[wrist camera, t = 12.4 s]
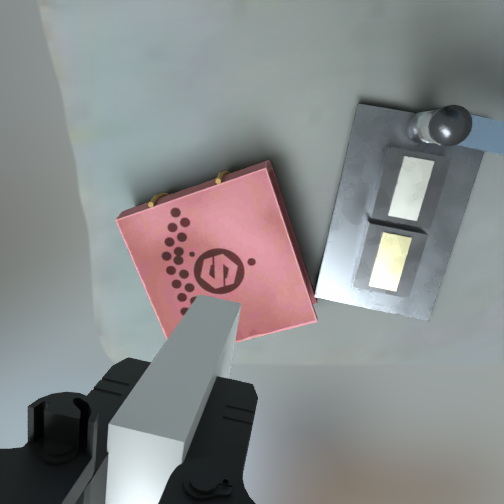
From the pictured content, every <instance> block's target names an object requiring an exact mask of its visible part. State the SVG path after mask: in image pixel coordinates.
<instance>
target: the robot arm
mask: <svg viewBox="0 0 504 504" xmlns="http://www.w3.org/2000/svg"><path fill="white" fill-rule="evenodd" d="M241 304H242V303H238V302H233V301H228V300H224V299H219V298H214V297H209V296H204V295H200V294H199V295H198V296H197V298H196V299H195V301H194V302H193V303H192V305H191V306H190V308H189V309H188V311H187V312H186V313H185V315H184V316H183V318H182V319H181V321H180V322H179V324H178V325H177V326H176V328H175V329H174V331H173V332H172V334H171V335H170V336H169V338H168V339H167V341H166V342H165V344H164V345H163V346H162V348H161V349H160V351H159V352H158V354H157V355H156V357H155V358H154V359H153V361H152V362H146V361H142V360H137V359H133V358H126V359H124V360H122V361H121V362H119V363H117V364H115V365H113V366H112V367H111V368H110V369H109V370H108V372H107V373H106V374H105V375H104V376H103V377H102V380H100V381H99V382H98V383H97V385H96V386H95V387H94V389H93V390H91V392H90V393H89V394H88V395H87V396H86V395H83V394H81V393H73V392H62V393H55V394H51V395H48V396H45V397H42V398H40V399H38V400H36V401H35V402H34V403H32V404H31V405H29V406H28V442H27V443H26V444H25V446H24V447H21V448H12V449H0V504H255V503H254V501H253V500H252V499H251V498H250V497H249V495H248V493H247V491H246V489H245V487H244V484H243V470H244V466H245V461H246V456H247V451H248V446H249V441H250V436H251V431H252V425H253V420H254V415H255V410H256V405H257V400H258V397H257V394H256V391H255V389H254V386H253V384H250V383H245V382H241V381H237V380H232V379H228V377H229V374H230V369H231V364H232V358H233V352H234V346H235V340H236V334H237V328H238V322H239V316H240V310H241Z"/></svg>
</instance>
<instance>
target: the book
mask: <svg viewBox="0 0 504 504" xmlns="http://www.w3.org/2000/svg"><path fill="white" fill-rule="evenodd" d="M116 223H117V225H118V227H119V230H120V232H121V234H122V237H123V239H124V241H125V244H126V246H127V248H128V250H129V253H130V255H131V257H132V260H133V262H134V264H135V267H136V269H137V271H138V274H139V276H140V278H141V281H142V283H143V285H144V288H145V290H146V292H147V295H148V297H149V299H150V302H151V304H152V306H153V309H154V311H155V313H156V316H157V318H158V320H159V323H160V325H161V327H162V330H163V332H164V334H165V336H166V339H168V338H169V336H170V335H171V334H172V332H173V331H174V329H175V328H176V326H177V325H178V324H179V322H180V321H181V319H182V318H183V316H184V315H185V313H186V312H187V311H188V309H189V308H190V306H191V305H192V303H193V302H194V301H195V299H196V298H197V296H198V295H199V294H200V295H204V296H209V297H214V298H219V299H224V300H228V301H233V302H238V303H242V304H241V310H240V316H239V322H238V328H237V334H236V340H235V343H236V342H240V341H244V340H248V339H252V338H256V337H259V336H263V335H267V334H271V333H275V332H279V331H283V330H287V329H291V328H295V327H299V326H303V325H307V324H311V323H315V322H318V320H317V315H316V312H315V309H314V306H313V304H315V303H317V300H316V297H314V291H313V288H312V285H311V282H310V279H309V276H308V273H307V270H306V267H305V264H304V261H303V258H302V255H301V252H300V249H299V246H298V243H297V239H296V236H295V233H294V230H293V227H292V224H291V221H290V218H289V215H288V212H287V209H286V206H285V203H284V200H283V197H282V194H281V191H280V188H279V185H278V182H277V179H276V176H275V173H274V170H273V167H272V164H271V162H270V161H269V160H267V161H264V162H261V163H258V164H255V165H253V166H250V167H247V168H244V169H241V170H238V171H236V172H233V173H229V172H228V171H226V170H224V171H221V172H219V173H218V175H217V178H216V179H213V180H210V181H207V182H204V183H201V184H199V185H196V186H193V187H190V188H187V189H184V190H181V191H179V192H176V193H173V194H168V193H164V192H162V193H159V194H156V195H154V196H153V198H152V199H151V200H150V202H147V203H144V204H142V205H139V206H136V207H133V208H130V209H128V210H125V211H123V212H121V214H120V215H119V216H118V217H117V219H116Z"/></svg>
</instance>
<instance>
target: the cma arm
mask: <svg viewBox="0 0 504 504" xmlns="http://www.w3.org/2000/svg"><path fill="white" fill-rule="evenodd" d="M428 131H429V135H430V137H431V139H432V140H433V141H434V142H435V143H437V144H439V145H442V146H454V145H459V146H463V147H468V148H472V149H477V150H481V151H486V152H490V153H495V154H499V155H503V156H504V122H503V121H498V120H494V119H489V118H485V117H480V116H476V115H471V114H470V113H469V112H468V110H466V109H465V108H464V107H462V106H458V105H450V106H445V107H443V108H441V109H439V110H437V111H436V112H435V113H434V114H433V116H432V117H431V119H430V121H429V125H428Z"/></svg>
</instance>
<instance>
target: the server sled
mask: <svg viewBox="0 0 504 504" xmlns="http://www.w3.org/2000/svg"><path fill="white" fill-rule="evenodd" d="M437 110H439V109H437ZM437 110H431V111H425V112H420V113H412V112H406V111H400V110H394V109H388V108H382V107H376V106H370V105H364V104H358V106H357V111H356V115H355V119H354V124H353V128H352V132H351V137H350V141H349V145H348V150H347V154H346V158H345V163H344V167H343V171H342V176H341V180H340V184H339V189H338V193H337V197H336V201H335V206H334V210H333V214H332V219H331V223H330V227H329V232H328V236H327V240H326V245H325V249H324V253H323V258H322V262H321V266H320V271H319V275H318V279H317V284H316V288H315V292H314V297H317V298H322V299H326V300H331V301H336V302H341V303H345V304H350V305H355V306H360V307H364V308H369V309H374V310H379V311H384V312H388V313H393V314H398V315H403V316H407V317H412V318H417V319H422V320H426V321H429V318H430V315H431V312H432V309H433V306H434V303H435V300H436V297H437V294H438V291H439V288H440V285H441V282H442V279H443V276H444V273H445V270H446V267H447V264H448V260H449V257H450V254H451V251H452V248H453V245H454V242H455V239H456V236H457V233H458V230H459V227H460V224H461V221H462V218H463V215H464V212H465V209H466V206H467V203H468V200H469V197H470V194H471V190H472V187H473V184H474V181H475V178H476V175H477V172H478V169H479V166H480V163H481V160H482V157H483V154H484V151H481V150H477V149H472V148H468V147H463V146H459V145H454V146H442V145H439V144H437V143H435V142H434V141H433V140H432V139H431V137H430V135H429V131H428V125H429V121H430V119H431V117H432V116H433V114H434V113H435V112H436V111H437Z"/></svg>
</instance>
